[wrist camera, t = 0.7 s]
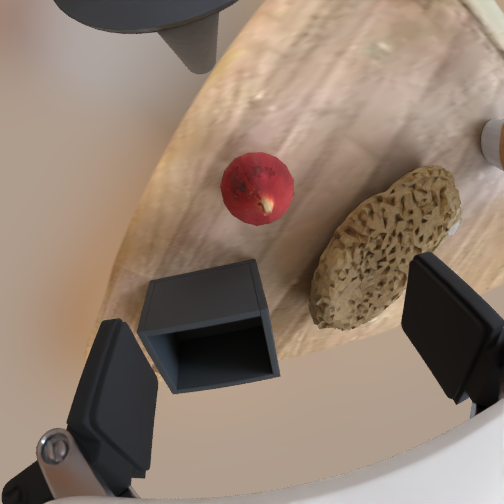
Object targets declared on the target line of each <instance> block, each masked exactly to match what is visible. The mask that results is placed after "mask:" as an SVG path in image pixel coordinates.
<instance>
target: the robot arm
mask: <svg viewBox="0 0 504 504" xmlns="http://www.w3.org/2000/svg"><path fill="white" fill-rule="evenodd" d="M401 324H402V328H403V330H404V332H405V334H406V335H407V336H408V338H409V339H410V341H411V342H412V344H413V345H414V347H415V348H416V349H417V351H418V352H419V354H420V355H421V357H422V358H423V360H424V361H425V363H426V364H427V366H428V367H429V369H430V370H431V372H432V374H433V375H434V377H435V378H436V380H437V381H438V383H439V384H440V386H441V387H442V389H443V391H444V392H445V394H446V395H447V397H448V398H450V399H453V400H454V402H455V403H456V405H457V404H459V403H461V402H462V401H464V400H466V399H468V398H469V397H470V399H471V400H472V408H471V414H470V419H469V420H467V421H465V422H464V423H462V424H460V425H458V426H456V427H454V428H453V429H451V430H449V431H447V432H445V433H443V434H441V435H439V436H437V437H435V438H433V439H432V440H429V441H427V442H425V443H423V444H420V445H418V446H416V447H414V448H412V449H409V450H407V451H405V452H402V453H400V454H397V455H395V456H392V457H390V458H387V459H385V460H382V461H379V462H377V463H374V464H371V465H368V466H366V467H363V468H359V469H356V470H353V471H351V472H347V473H344V474H340V475H337V476H333V477H330V478H326V479H322V480H318V481H315V482H310V483H306V484H302V485H297V486H292V487H287V488H282V489H277V490H271V491H265V492H259V493H252V494H244V495H235V496H225V497H213V498H195V499H141V498H140V497H139V495H138V494H137V493H136V492H135V490H134V489H133V488H132V486H131V478H145V473H146V470H149V468H150V462H151V448H152V438H153V426H154V417H155V408H156V398H157V391H158V379H157V376H156V374H155V373H154V371H153V369H152V368H151V366H150V364H149V362H148V361H147V359H146V357H145V355H144V354H143V352H142V350H141V348H140V346H139V344H138V343H137V341H136V339H135V337H134V335H133V333H132V331H131V329H130V327H129V326H128V324H127V323H126V322H122V320H121V319H119V318H117V319H111V320H104V321H102V323H101V325H100V328H99V330H98V333H97V335H96V338H95V340H94V343H93V345H92V348H91V351H90V353H89V356H88V359H87V362H86V364H85V367H84V370H83V373H82V376H81V378H80V381H79V384H78V388H77V391H76V393H75V396H74V400H73V403H72V406H71V409H70V412H69V416H68V419H67V424H68V425H67V429H66V430H65V429H62V428H54V429H51V430H49V431H47V432H46V433H45V434H44V435H43V436H42V437H41V438H40V440H39V442H38V444H37V447H36V455H37V461H36V462H34V463H33V464H32V465H30V466H29V467H27V468H26V469H25V470H23V471H22V472H21V473H19V474H18V475H17V476H15V477H14V478H12V479H11V480H10V481H9V482H8V483H7V484H6V485H5V486H4V488H3V491H2V503H3V504H504V320H503V319H502V318H501V317H500V316H499V314H497V313H496V311H495V310H494V309H492V307H491V306H490V305H489V304H488V303H486V301H484V300H483V299H482V298H481V297H480V296H479V295H478V294H477V293H476V292H475V291H474V290H473V289H472V288H471V287H470V286H469V285H468V284H467V283H466V282H465V281H463V280H462V279H461V278H460V277H459V276H458V275H457V274H456V273H455V272H454V271H452V270H451V269H450V268H449V267H448V266H447V265H446V264H444V263H443V262H442V261H441V260H440V259H439V258H438V257H436V256H435V255H434V254H433V253H431V252H425V253H421V254H417V255H415V256H414V257H413V260H412V261H410V264H409V272H408V280H407V288H406V295H405V302H404V309H403V315H402V321H401Z"/></svg>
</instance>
